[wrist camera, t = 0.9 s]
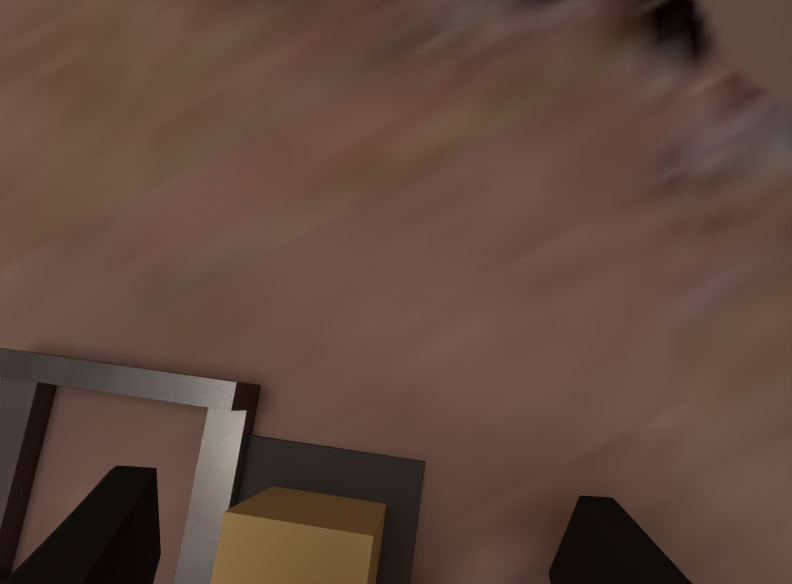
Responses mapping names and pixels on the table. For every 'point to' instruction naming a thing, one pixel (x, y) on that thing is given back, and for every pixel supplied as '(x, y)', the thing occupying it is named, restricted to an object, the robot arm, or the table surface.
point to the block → (299, 539)
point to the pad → (345, 489)
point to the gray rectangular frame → (40, 373)
